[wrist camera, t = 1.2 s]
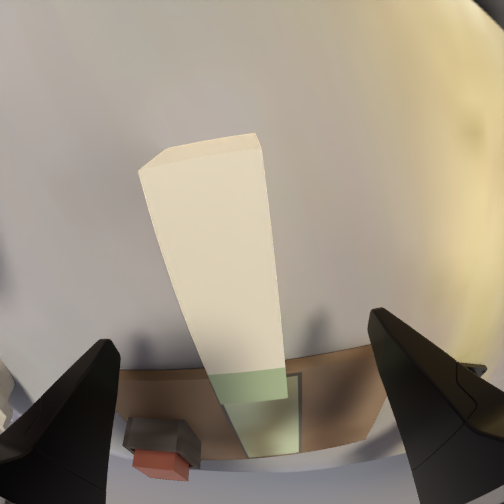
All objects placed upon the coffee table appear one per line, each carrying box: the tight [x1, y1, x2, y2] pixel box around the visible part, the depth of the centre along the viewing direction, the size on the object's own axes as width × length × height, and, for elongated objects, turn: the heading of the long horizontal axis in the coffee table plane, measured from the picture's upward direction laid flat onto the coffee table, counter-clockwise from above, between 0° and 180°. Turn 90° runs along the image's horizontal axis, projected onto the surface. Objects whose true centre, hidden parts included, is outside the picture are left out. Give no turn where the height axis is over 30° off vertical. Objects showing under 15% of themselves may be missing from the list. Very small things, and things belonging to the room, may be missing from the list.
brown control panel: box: [115, 345, 387, 469], centre depth 18 cm, size 20×15×3 cm
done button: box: [132, 449, 189, 481], centre depth 17 cm, size 3×3×2 cm
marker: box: [138, 133, 288, 404], centre depth 11 cm, size 11×3×3 cm, turn 8°
